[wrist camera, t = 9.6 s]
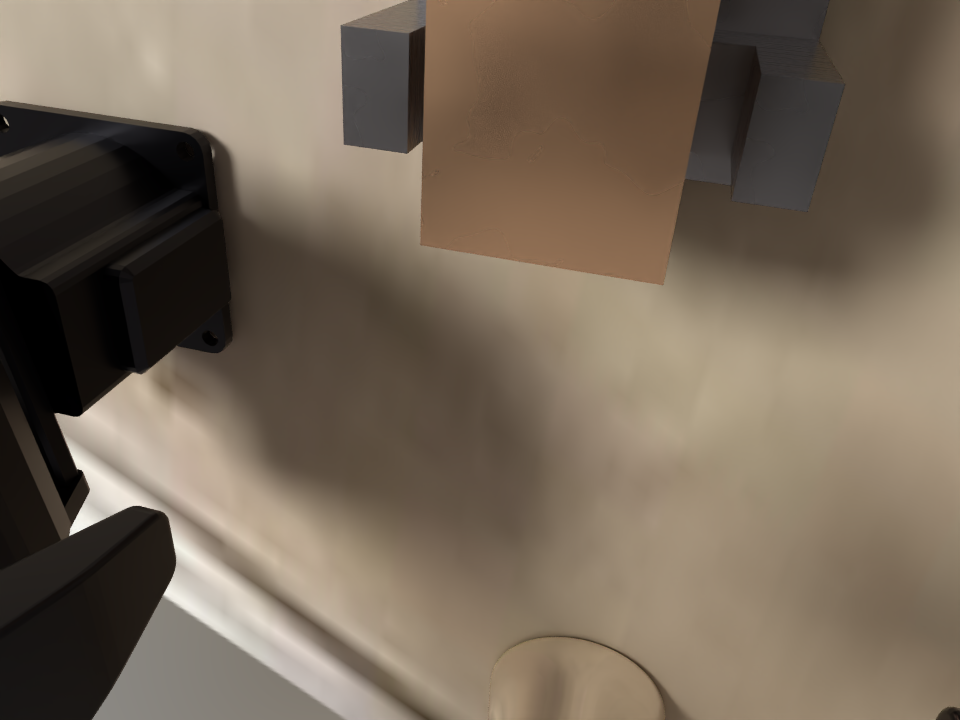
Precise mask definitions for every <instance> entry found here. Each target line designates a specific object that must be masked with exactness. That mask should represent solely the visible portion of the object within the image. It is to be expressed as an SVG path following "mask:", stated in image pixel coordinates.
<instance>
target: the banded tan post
mask: <svg viewBox="0 0 960 720" xmlns="http://www.w3.org/2000/svg"><path fill="white" fill-rule="evenodd" d="M720 1H721V0H426V32H425V74H424V116H423V157H422V199H421V241H420V245H424V246H430V247H436V248H442V249H448V250H454V251H460V252H466V253H472V254H478V255H484V256H490V257H496V258H502V259H508V260H514V261H520V262H526V263H532V264H538V265H544V266H550V267H556V268H562V269H568V270H574V271H581V272H587V273H593V274H599V275H605V276H611V277H617V278H623V279H629V280H635V281H641V282H647V283H653V284H659V285H663V284H664V279H665V274H666V269H667V264H668V259H669V254H670V249H671V244H672V239H673V234H674V229H675V224H676V219H677V214H678V209H679V204H680V199H681V194H682V190H683V185H684V180H685V175H686V170H687V165H688V160H689V155H690V150H691V145H692V140H693V135H694V130H695V125H696V120H697V115H698V110H699V105H700V100H701V95H702V90H703V85H704V80H705V76H706V71H707V66H708V61H709V56H710V51H711V46H712V41H713V36H714V31H715V26H716V21H717V16H718V11H719V6H720Z"/></svg>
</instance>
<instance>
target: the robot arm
mask: <svg viewBox="0 0 960 720" xmlns="http://www.w3.org/2000/svg"><path fill="white" fill-rule="evenodd" d="M4 117H5V118H6V119H7V121H8V123H9V126H8V125H7V124H6V123H5V120H4ZM185 142H186V143H188V144H190V146H191V147H192V148H193V150H194V157H193V156H191V155H190V154H189V153H188V152H187V150H186V147H185ZM230 300H231V291H230V282H229V273H228V265H227V256H226V247H225V238H224V229H223V221H222V218H221V217H220V215H219V212H218V203H217V194H216V185H215V177H214V168H213V159H212V150H211V147H210V143H209V141H208V140H207V138H206V137H205V135H203V134H202V133H201V132H200V131H198V130H196V129H193V128H188V127H181V126H174V125H167V124H160V123H154V122H147V121H140V120H133V119H127V118H120V117H113V116H106V115H99V114H93V113H86V112H79V111H72V110H66V109H59V108H52V107H45V106H38V105H32V104H25V103H18V102H11V101H1V102H0V720H92V719H93V717H94V716H95V714H96V713H97V711H98V710H99V708H100V706H101V705H102V703H103V702H104V700H105V699H106V697H107V696H108V694H109V693H110V691H111V690H112V688H113V686H114V684H115V683H116V681H117V679H118V678H119V676H120V674H121V672H122V670H123V669H124V667H125V665H126V663H127V661H128V659H129V658H130V656H131V654H132V652H133V650H134V648H135V646H136V645H137V643H138V641H139V639H140V637H141V635H142V633H143V631H144V630H145V627H146V626H147V624H148V622H149V620H150V618H151V617H152V615H153V613H154V611H155V609H156V607H157V605H158V603H159V602H160V600H161V598H162V596H163V594H164V592H165V590H166V589H167V587H168V585H169V583H170V581H171V579H172V577H173V574H174V571H175V567H176V555H175V549H174V544H173V539H172V534H171V528H170V523H169V519H168V517H167V516H166V515H165V513H163V512H161V511H158V510H154V509H150V508H146V507H142V506H132V507H129V508H127V509H124V510H122V511H120V512H118V513H116V514H114V515H112V516H110V517H108V518H106V519H104V520H102V521H100V522H98V523H96V524H93V525H91V526H89V527H87V528H85V529H83V530H81V531H79V532H77V533H75V534H73V535H71V536H69V533H70V528H71V526H72V524H73V522H74V520H75V518H76V516H77V515H78V513H79V511H80V509H81V507H82V505H83V503H84V501H85V499H86V497H87V495H88V494H89V491H90V488H89V486H88V483H87V481H86V478H85V476H84V473H83V472H82V470H79V469H77V468H76V465H75V463H74V461H73V458H72V456H71V453H70V451H69V448H68V446H67V443H66V441H65V438H64V436H63V433H62V431H61V429H60V426H59V424H58V421H57V419H56V416H55V413H60V414H65V415H69V416H73V417H78V416H80V415H82V414H83V413H84V412H85V411H86V410H88V409H89V408H90V407H91V406H93V405H94V404H95V403H96V402H97V401H99V400H100V399H101V398H102V397H103V396H105V395H106V394H107V393H108V392H110V391H111V390H112V389H113V388H114V387H116V386H117V385H118V384H119V383H120V382H122V381H123V380H124V379H125V378H126V377H128V376H129V375H130V374H131V373H137V374H143V373H145V372H146V371H148V370H149V369H150V368H151V367H152V366H154V365H155V364H156V363H157V362H158V361H160V360H161V359H162V358H163V357H164V356H165V355H167V354H168V353H169V352H170V351H171V350H173V349H174V348H175V347H176V346H180V347H185V348H190V349H195V350H200V351H204V352H209V353H219V352H221V351H223V350H224V349H225V348H226V347H227V346H228V345H229V344H230V343H231V341H232V336H233V334H232V325H231V317H230V308H229V301H230ZM210 331H211V332H213V333H214V334H215V335H216V336H217V339H216V338H214V337H213V336H212V335H211V334H210ZM936 720H960V708H956V707H947V708H945V709H943V710H942V711H941V712H940V714H939V715H938V717H937V719H936Z"/></svg>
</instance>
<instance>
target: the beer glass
mask: <svg viewBox="0 0 960 720" xmlns="http://www.w3.org/2000/svg"><path fill="white" fill-rule="evenodd" d="M488 720H665V709H664V704H663V700H662V697H661V694H660V692H659V690H658V688H657V687H656V685H655V684H654V682H653V681H652V680H651V678H650V677H649V676H648V675H647V674H646V673H645V672H644V671H643V670H642V669H641V668H640V667H639V666H637V665H636V664H635V663H634V662H632V661H631V660H629V659H628V658H626V657H625V656H623V655H621V654H620V653H618V652H616V651H614V650H612V649H610V648H607V647H605V646H602V645H600V644H597V643H594V642H590V641H586V640H582V639H577V638H570V637H543V638H537V639H532V640H528V641H525V642H522V643H520V644H518V645H515V646H514V647H512V648H510V649H509V650H507V651H506V652H505V653H504V654H503V655H502V656H501V657H500V658H499V660H498V661H497V663H496V664H495V666H494V668H493V671H492V675H491V680H490V690H489V707H488Z"/></svg>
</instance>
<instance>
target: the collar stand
mask: <svg viewBox="0 0 960 720" xmlns="http://www.w3.org/2000/svg"><path fill="white" fill-rule="evenodd" d="M828 4H829V0H721V1H720V6H719V11H718V16H717V21H716V26H715V31H714V36H713V41H712V46H711V51H710V56H709V61H708V66H707V71H706V76H705V80H704V85H703V90H702V95H701V100H700V105H699V110H698V115H697V120H696V125H695V130H694V135H693V140H692V145H691V150H690V155H689V160H688V165H687V170H686V175H685V179H689V180H696V181H703V182H710V183H717V184H724V185H731V201H735V202H742V203H749V204H756V205H762V206H769V207H776V208H783V209H790V210H797V211H803V212H808V209H809V205H810V202H811V199H812V195H813V192H814V188H815V185H816V182H817V178H818V175H819V171H820V168H821V165H822V161H823V158H824V154H825V151H826V148H827V144H828V141H829V137H830V134H831V131H832V127H833V124H834V120H835V117H836V114H837V110H838V107H839V103H840V100H841V97H842V93H843V90H844V86H845V83H844V82H843V80H842V78H841V77H840V75H839V73H838V72H837V70H836V68H835V67H834V65H833V63H832V62H831V60H830V58H829V57H828V55H827V53H826V52H825V50H824V48H823V47H822V45H821V43H820V42H819V38H820V34H821V30H822V26H823V23H824V19H825V15H826V12H827V8H828ZM425 32H426V0H408V1H406V2H403V3H400V4H398V5H395V6H392V7H389V8H387V9H384V10H381V11H379V12H376V13H373V14H370V15H368V16H365V17H362V18H360V19H357V20H354V21H351V22H349V23H346V24H343V25H341V53H342V91H343V130H344V145H351V146H358V147H365V148H372V149H379V150H386V151H392V152H399V153H406V154H407V153H409V152H410V151H411V150H412V149H413V148H415V147H416V146H417V145H418V144H419V143H420V142H423V116H424V74H425Z"/></svg>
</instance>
